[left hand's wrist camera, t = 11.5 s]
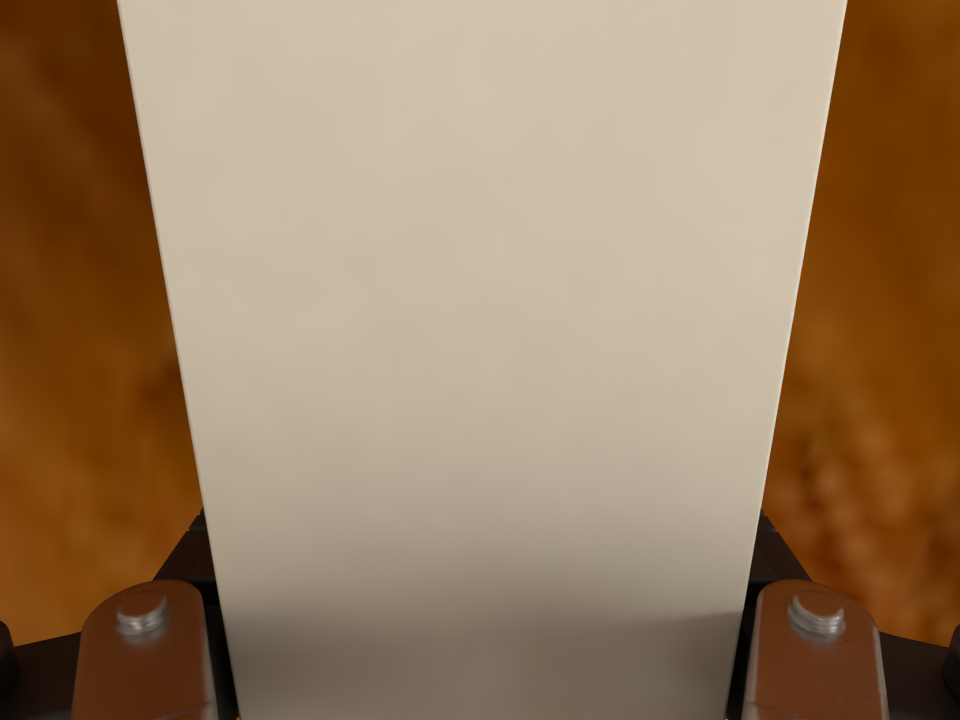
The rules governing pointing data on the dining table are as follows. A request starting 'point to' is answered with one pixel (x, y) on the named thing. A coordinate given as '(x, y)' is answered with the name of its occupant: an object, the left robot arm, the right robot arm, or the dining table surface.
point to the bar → (482, 335)
